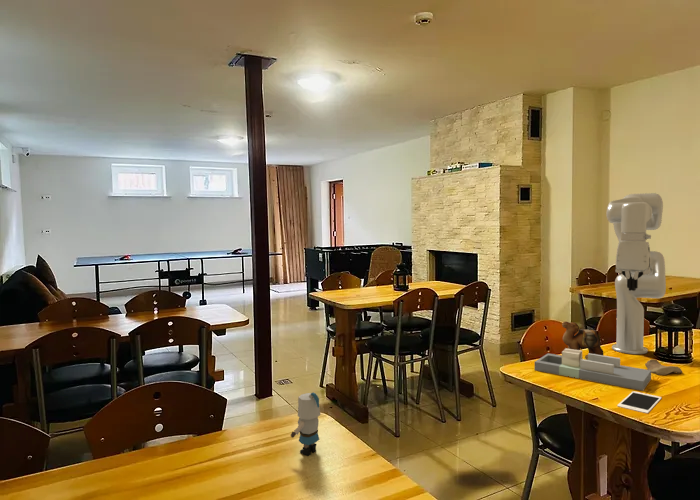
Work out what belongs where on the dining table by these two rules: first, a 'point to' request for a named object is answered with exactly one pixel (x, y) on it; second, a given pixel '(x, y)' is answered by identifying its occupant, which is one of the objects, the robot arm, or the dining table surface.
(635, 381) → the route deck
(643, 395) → the black and white tile
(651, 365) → the pottery shard
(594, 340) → the figurine
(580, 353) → the block
